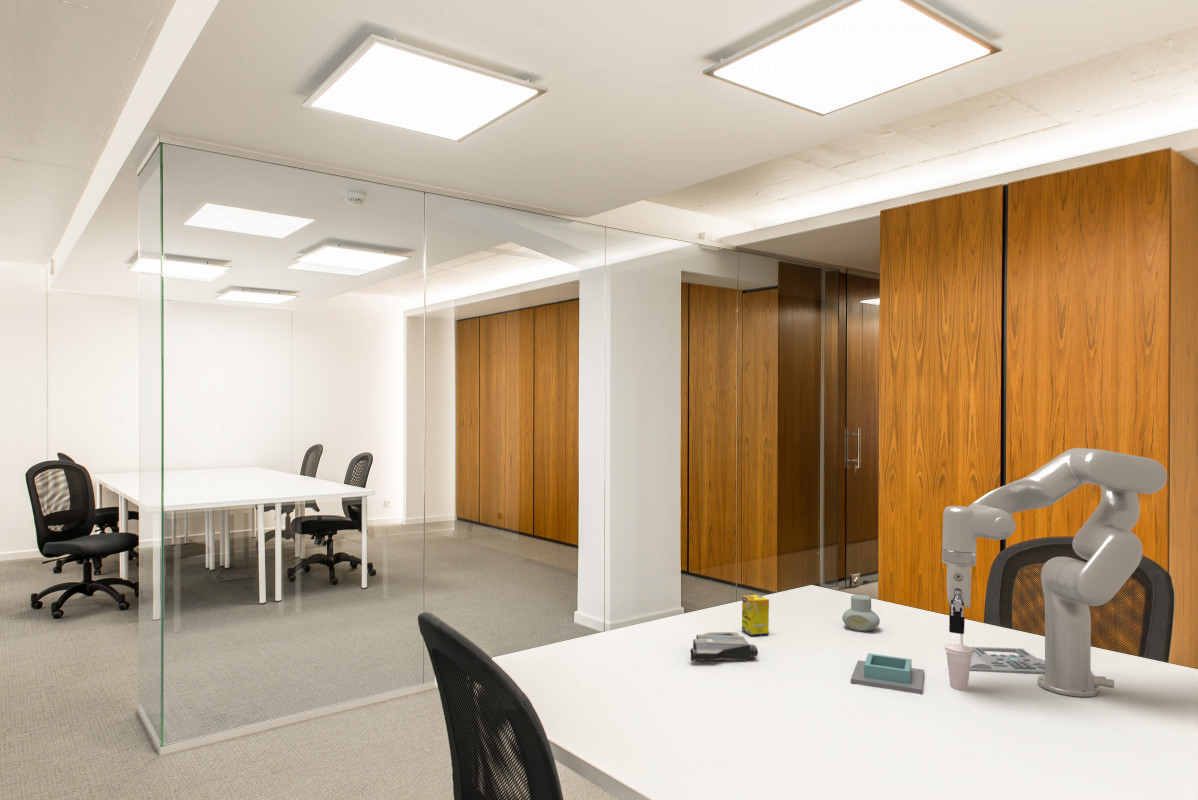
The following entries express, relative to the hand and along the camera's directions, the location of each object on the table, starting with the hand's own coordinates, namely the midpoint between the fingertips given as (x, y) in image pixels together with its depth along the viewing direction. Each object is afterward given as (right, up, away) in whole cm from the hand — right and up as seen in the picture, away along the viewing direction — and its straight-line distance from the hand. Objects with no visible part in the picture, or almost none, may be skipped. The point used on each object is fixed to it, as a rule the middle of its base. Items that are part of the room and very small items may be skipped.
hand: (956, 628), depth 184 cm
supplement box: (-40, -15, +43) cm, 61 cm away
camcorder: (-54, -14, +22) cm, 60 cm away
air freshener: (-6, -16, +50) cm, 53 cm away
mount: (-15, -14, +6) cm, 21 cm away
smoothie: (0, -15, 0) cm, 15 cm away
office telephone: (+21, -16, +21) cm, 34 cm away
